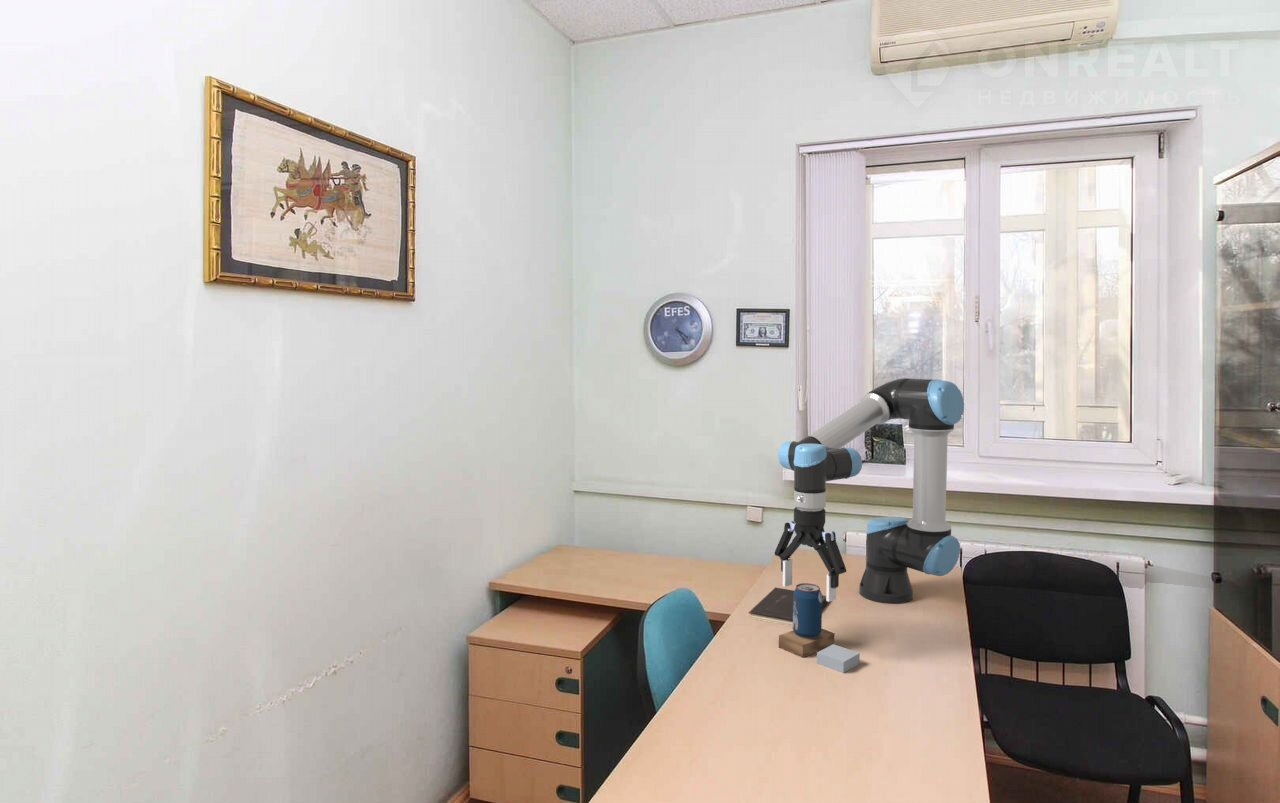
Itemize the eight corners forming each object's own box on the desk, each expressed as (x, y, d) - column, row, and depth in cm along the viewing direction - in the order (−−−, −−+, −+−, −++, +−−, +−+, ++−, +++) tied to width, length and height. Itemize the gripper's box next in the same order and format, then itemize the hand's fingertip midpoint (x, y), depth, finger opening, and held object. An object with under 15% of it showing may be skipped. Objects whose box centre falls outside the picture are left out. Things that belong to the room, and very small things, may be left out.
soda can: (826, 634, 184) (827, 586, 183) (812, 642, 179) (813, 593, 178) (801, 626, 189) (802, 580, 188) (787, 634, 184) (788, 587, 183)
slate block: (833, 656, 179) (833, 644, 179) (859, 665, 174) (859, 653, 174) (816, 664, 174) (817, 652, 174) (843, 674, 169) (843, 662, 169)
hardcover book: (748, 620, 202) (748, 612, 202) (775, 594, 223) (775, 587, 222) (806, 631, 195) (806, 622, 195) (828, 603, 215) (828, 596, 215)
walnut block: (810, 635, 191) (810, 624, 190) (834, 645, 185) (834, 633, 184) (778, 647, 183) (778, 635, 183) (802, 657, 177) (802, 645, 177)
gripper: (761, 501, 189) (760, 582, 191) (842, 520, 169) (840, 610, 171) (781, 496, 193) (780, 576, 195) (862, 514, 174) (860, 603, 175)
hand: (808, 592), depth 183 cm, fingers open, 13 cm apart
